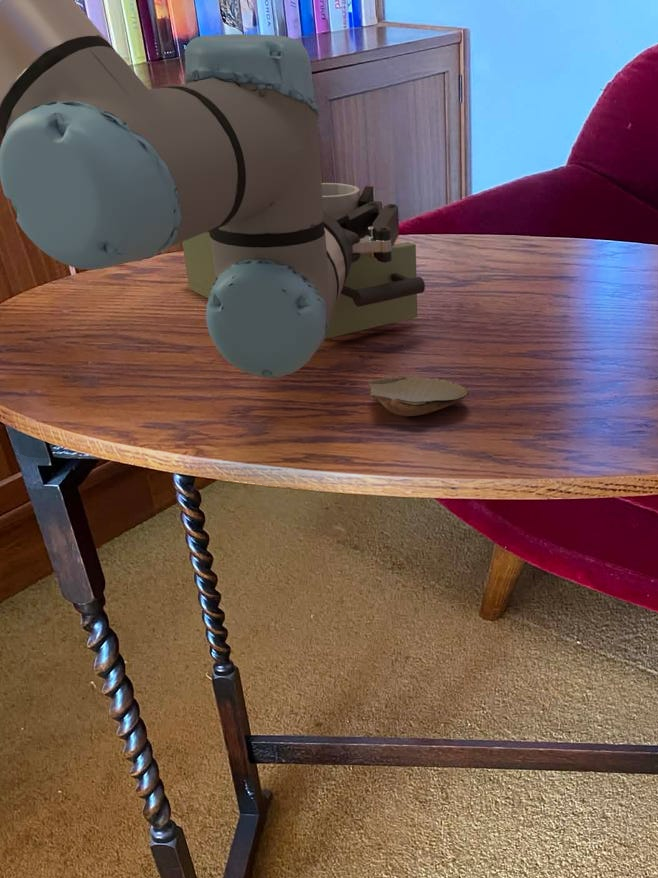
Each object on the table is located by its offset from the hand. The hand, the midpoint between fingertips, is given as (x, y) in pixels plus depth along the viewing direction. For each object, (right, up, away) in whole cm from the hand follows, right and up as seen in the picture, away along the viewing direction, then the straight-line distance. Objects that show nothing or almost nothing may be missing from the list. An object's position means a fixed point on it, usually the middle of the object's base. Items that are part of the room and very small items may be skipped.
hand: (334, 201), depth 93 cm
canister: (0, -8, -1) cm, 8 cm away
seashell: (+9, -24, -16) cm, 30 cm away
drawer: (+1, -11, 0) cm, 11 cm away
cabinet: (-8, -6, +9) cm, 13 cm away
